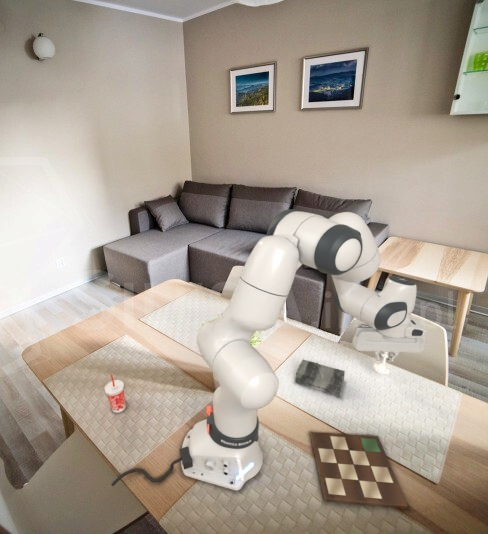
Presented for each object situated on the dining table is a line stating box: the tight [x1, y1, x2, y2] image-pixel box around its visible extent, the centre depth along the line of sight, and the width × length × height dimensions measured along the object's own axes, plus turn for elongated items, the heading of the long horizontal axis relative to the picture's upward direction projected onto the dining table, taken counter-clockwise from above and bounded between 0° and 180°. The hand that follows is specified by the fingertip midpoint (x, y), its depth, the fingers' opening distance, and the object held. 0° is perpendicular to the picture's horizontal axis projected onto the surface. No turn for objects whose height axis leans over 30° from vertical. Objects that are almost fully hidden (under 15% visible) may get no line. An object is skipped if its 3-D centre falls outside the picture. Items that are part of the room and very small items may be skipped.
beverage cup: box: [104, 374, 127, 414], centre depth 106 cm, size 6×6×14 cm
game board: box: [309, 431, 408, 510], centre depth 84 cm, size 18×18×1 cm
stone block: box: [295, 359, 346, 398], centre depth 111 cm, size 9×14×5 cm, turn 58°
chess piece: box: [372, 352, 391, 375], centre depth 106 cm, size 5×5×10 cm
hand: (383, 360), depth 107 cm, fingers closed on chess piece
